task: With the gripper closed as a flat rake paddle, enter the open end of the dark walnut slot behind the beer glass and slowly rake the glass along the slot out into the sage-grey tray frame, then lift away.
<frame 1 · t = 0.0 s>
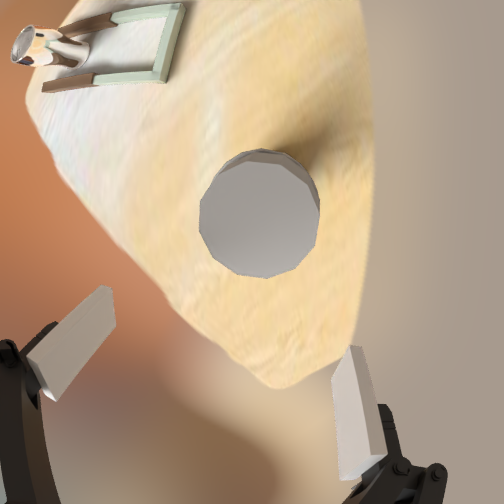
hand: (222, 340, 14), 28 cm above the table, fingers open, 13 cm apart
slot rails: (81, 55, 32), on the table
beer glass: (79, 56, 32), on the table
tray: (140, 45, 31), on the table
water bottle: (270, 176, 38), on the table
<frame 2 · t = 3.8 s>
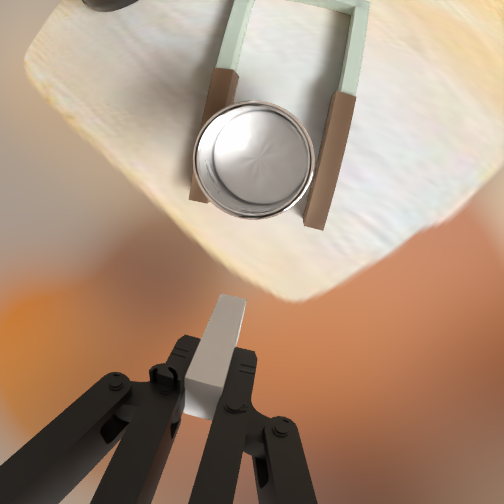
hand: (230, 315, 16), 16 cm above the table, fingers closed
slot rails: (271, 145, 27), on the table
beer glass: (270, 154, 28), on the table
tray: (296, 35, 22), on the table
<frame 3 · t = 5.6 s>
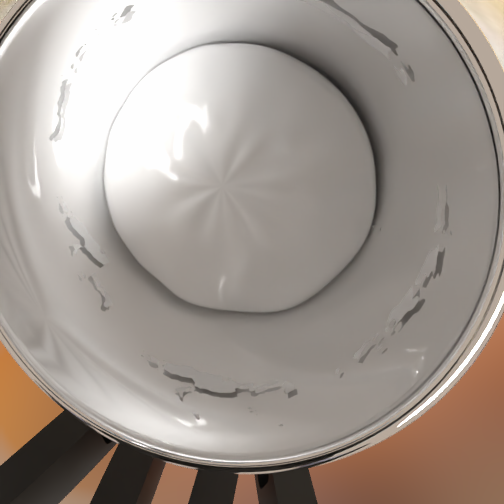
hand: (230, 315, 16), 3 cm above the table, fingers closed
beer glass: (265, 160, 16), on the table
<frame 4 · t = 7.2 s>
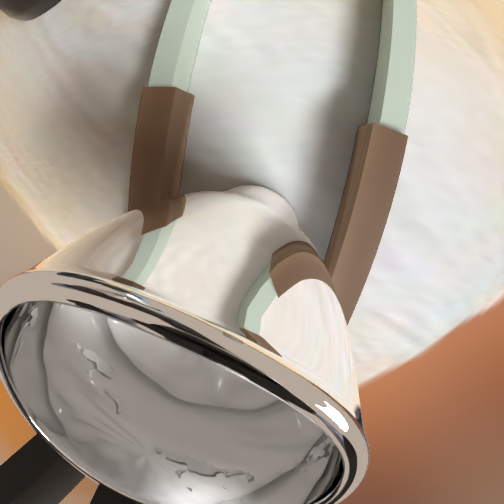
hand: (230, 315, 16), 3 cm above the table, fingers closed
slot rails: (253, 217, 17), on the table
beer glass: (250, 233, 17), on the table, touching gripper
tray: (293, 17, 12), on the table
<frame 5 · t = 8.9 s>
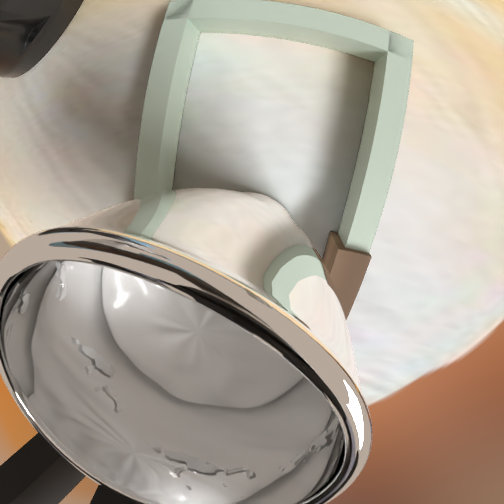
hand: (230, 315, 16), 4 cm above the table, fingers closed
slot rails: (235, 305, 20), on the table
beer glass: (248, 239, 18), on the table, touching gripper
tray: (272, 111, 14), on the table
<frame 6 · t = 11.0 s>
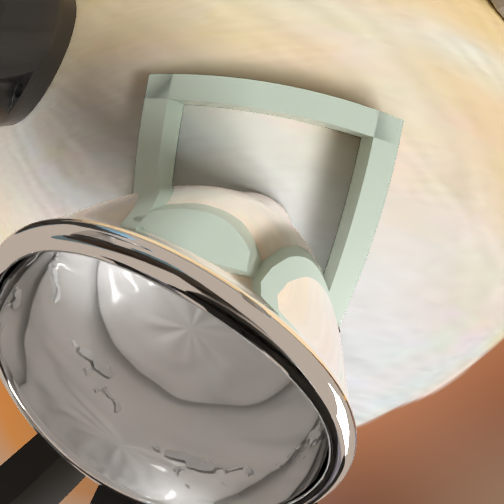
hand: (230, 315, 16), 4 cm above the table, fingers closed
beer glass: (247, 239, 18), on the table, touching gripper
tray: (256, 194, 17), on the table
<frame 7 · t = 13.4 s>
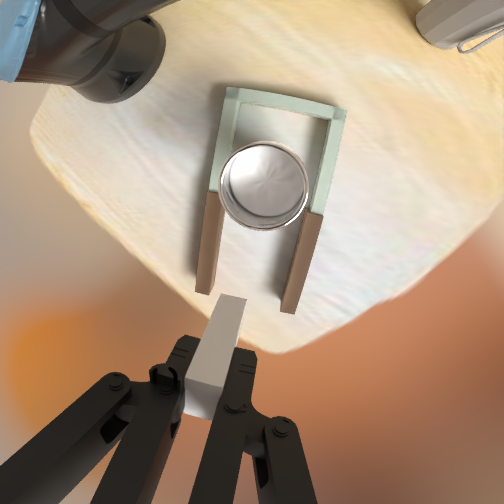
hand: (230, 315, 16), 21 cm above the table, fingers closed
slot rails: (256, 248, 37), on the table
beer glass: (272, 170, 33), on the table
tray: (277, 148, 32), on the table
water bottle: (435, 36, 22), on the table
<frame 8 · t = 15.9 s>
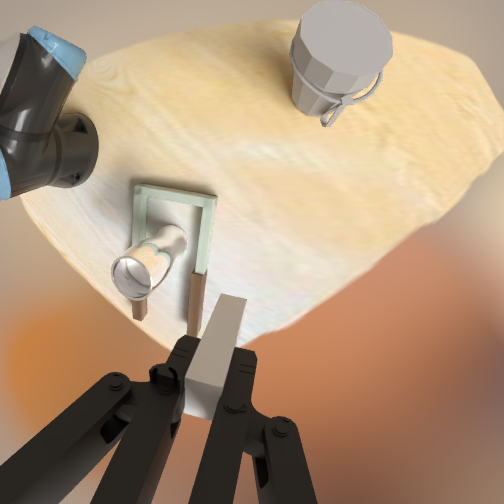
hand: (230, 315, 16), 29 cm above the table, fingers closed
slot rails: (169, 291, 51), on the table
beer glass: (172, 240, 47), on the table
tray: (173, 226, 46), on the table
water bottle: (315, 102, 36), on the table
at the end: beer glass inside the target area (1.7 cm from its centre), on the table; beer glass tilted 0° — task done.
